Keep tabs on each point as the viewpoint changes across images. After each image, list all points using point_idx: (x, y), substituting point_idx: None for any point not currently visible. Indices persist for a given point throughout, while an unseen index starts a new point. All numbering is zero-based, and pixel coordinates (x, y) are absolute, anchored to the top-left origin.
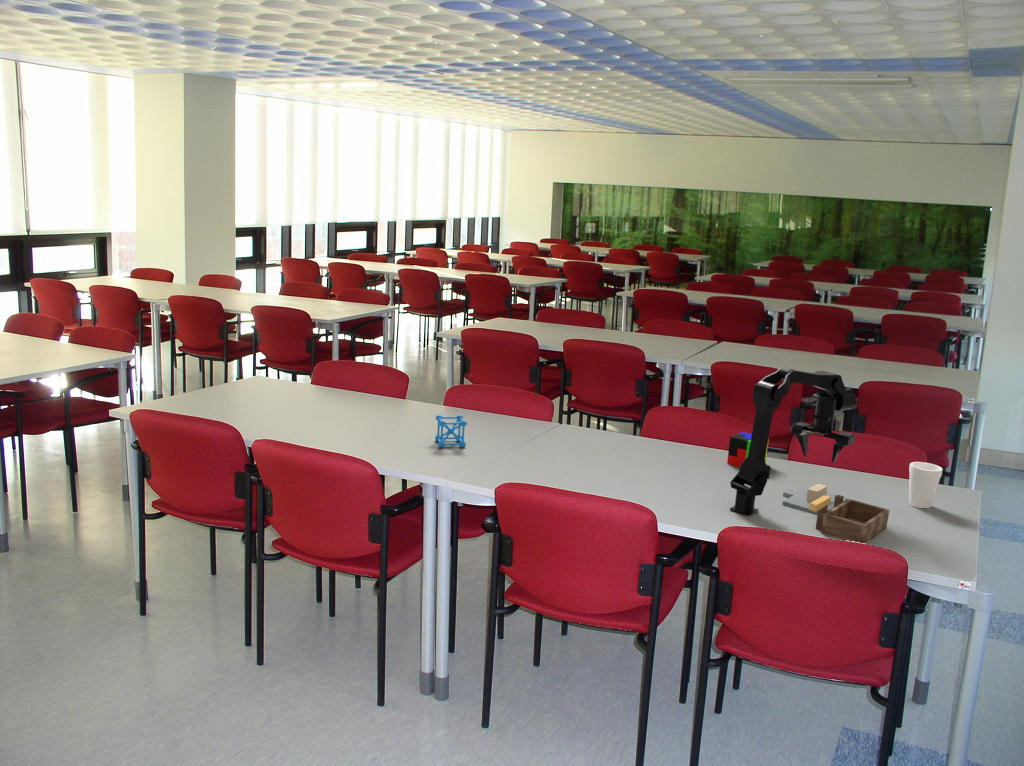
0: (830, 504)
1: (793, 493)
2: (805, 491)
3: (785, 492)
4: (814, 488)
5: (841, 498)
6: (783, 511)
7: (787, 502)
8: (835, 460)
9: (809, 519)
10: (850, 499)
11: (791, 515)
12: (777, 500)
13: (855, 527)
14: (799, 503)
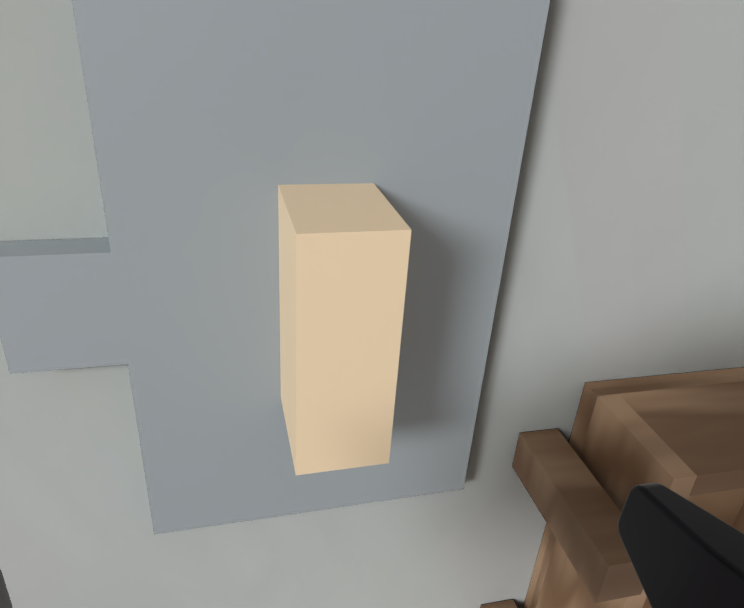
0: (458, 305)
1: (96, 325)
2: (136, 163)
3: (27, 362)
4: (335, 412)
5: (638, 582)
6: (236, 590)
7: (195, 527)
8: (701, 528)
9: (409, 566)
10: (684, 483)
11: (305, 598)
12: (73, 475)
13: None
14: (269, 478)
